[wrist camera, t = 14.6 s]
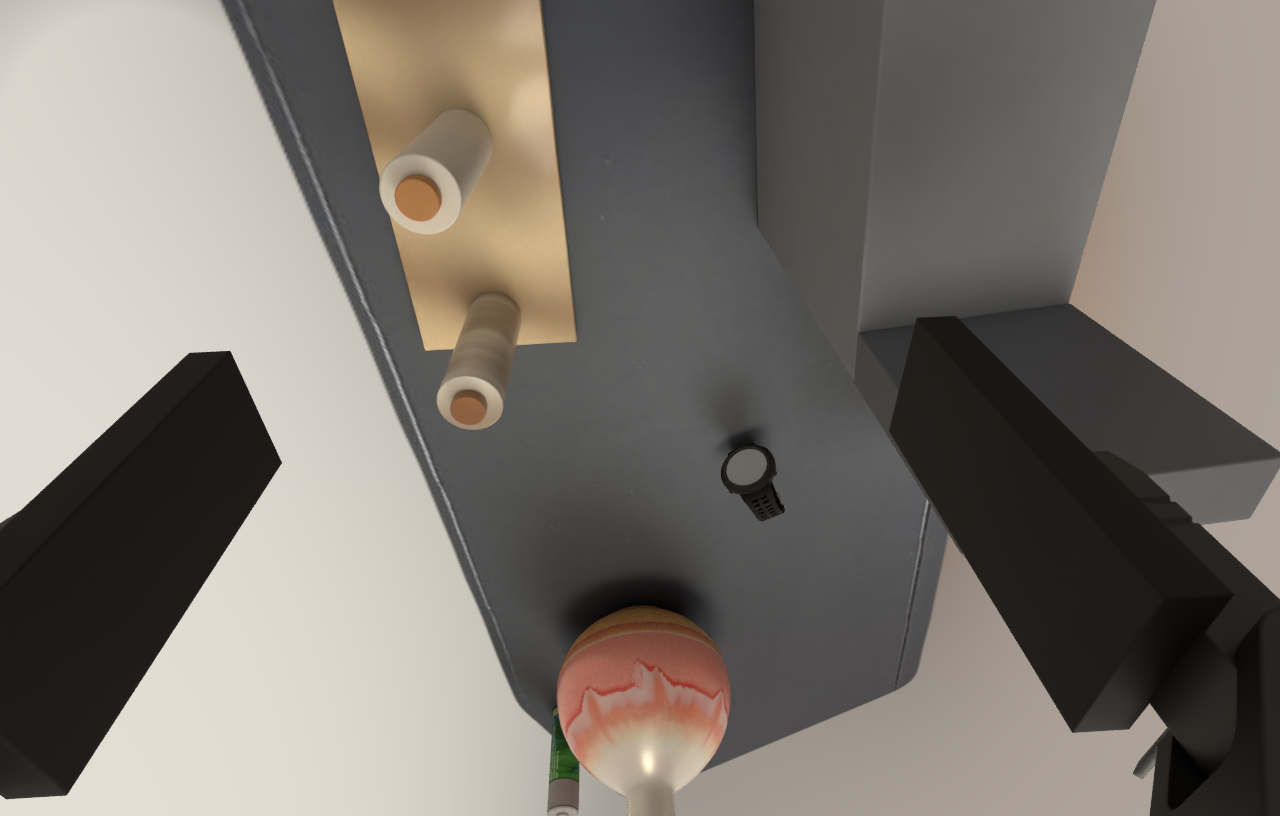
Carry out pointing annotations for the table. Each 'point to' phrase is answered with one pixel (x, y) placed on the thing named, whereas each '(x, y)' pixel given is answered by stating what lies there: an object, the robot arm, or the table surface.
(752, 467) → the smartwatch
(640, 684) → the vase
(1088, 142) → the grey stand
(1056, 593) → the robot arm
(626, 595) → the table surface
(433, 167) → the white cell
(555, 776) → the battery
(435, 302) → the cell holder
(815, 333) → the table surface
